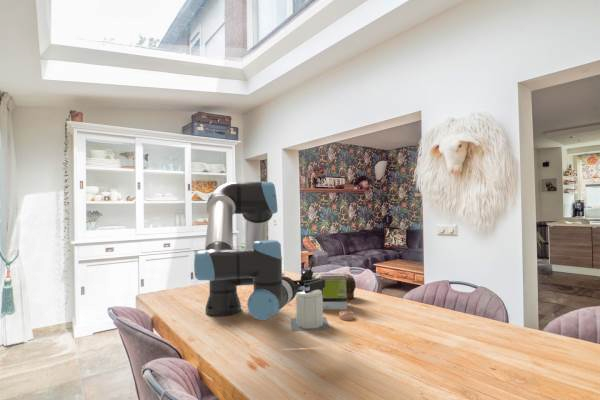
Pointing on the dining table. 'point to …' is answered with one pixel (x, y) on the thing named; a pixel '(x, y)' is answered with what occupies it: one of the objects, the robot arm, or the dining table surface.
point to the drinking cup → (307, 274)
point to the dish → (346, 315)
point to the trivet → (296, 328)
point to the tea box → (333, 290)
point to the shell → (350, 286)
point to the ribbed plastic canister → (309, 309)
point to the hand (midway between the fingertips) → (301, 277)
